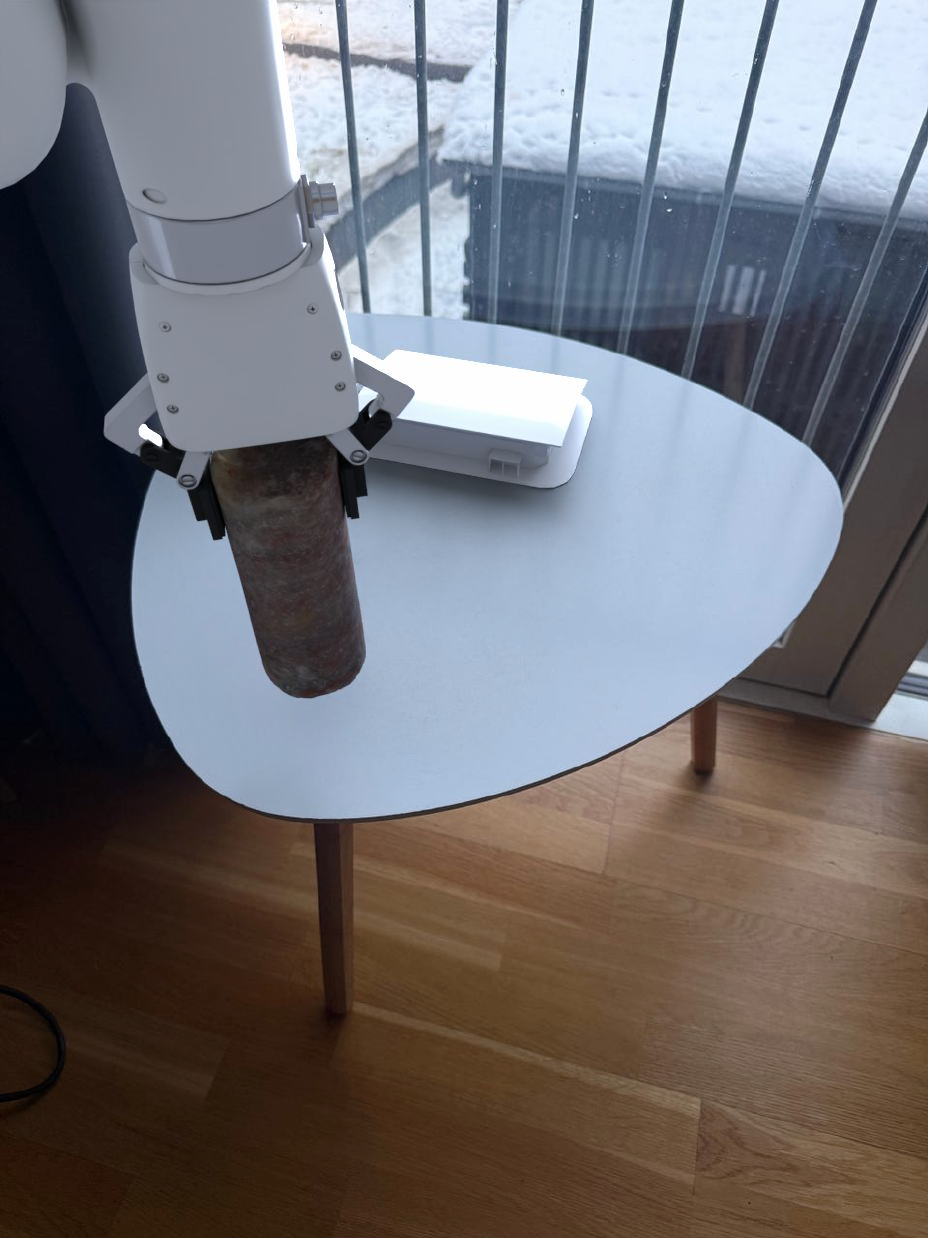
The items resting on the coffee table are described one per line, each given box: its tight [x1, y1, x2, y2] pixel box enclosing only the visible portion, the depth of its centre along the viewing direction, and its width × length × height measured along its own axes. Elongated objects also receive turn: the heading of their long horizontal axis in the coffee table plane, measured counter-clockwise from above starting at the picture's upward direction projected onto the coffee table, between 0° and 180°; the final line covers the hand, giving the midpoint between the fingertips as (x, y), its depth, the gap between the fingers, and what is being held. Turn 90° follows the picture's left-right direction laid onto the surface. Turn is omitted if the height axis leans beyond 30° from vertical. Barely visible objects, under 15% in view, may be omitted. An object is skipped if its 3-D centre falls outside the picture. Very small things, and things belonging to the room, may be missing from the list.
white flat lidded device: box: [358, 349, 593, 489], centre depth 90 cm, size 15×23×4 cm, turn 74°
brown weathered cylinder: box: [210, 435, 367, 700], centre depth 58 cm, size 8×7×20 cm
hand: (285, 511), depth 54 cm, fingers closed on brown weathered cylinder, 7 cm apart
